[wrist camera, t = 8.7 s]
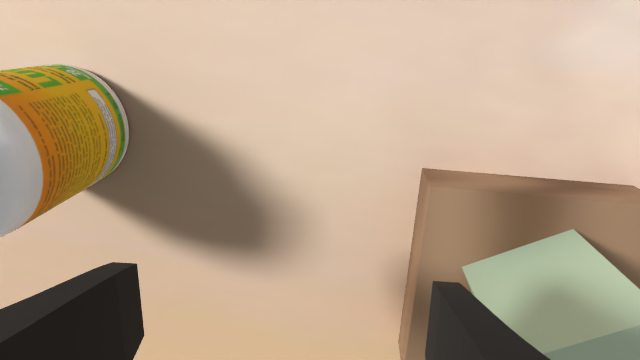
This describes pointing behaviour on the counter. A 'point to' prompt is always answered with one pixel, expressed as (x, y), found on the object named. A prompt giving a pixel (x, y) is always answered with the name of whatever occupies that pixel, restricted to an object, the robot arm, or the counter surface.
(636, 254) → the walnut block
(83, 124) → the supplement bottle
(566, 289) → the sage block
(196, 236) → the counter surface
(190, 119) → the counter surface
